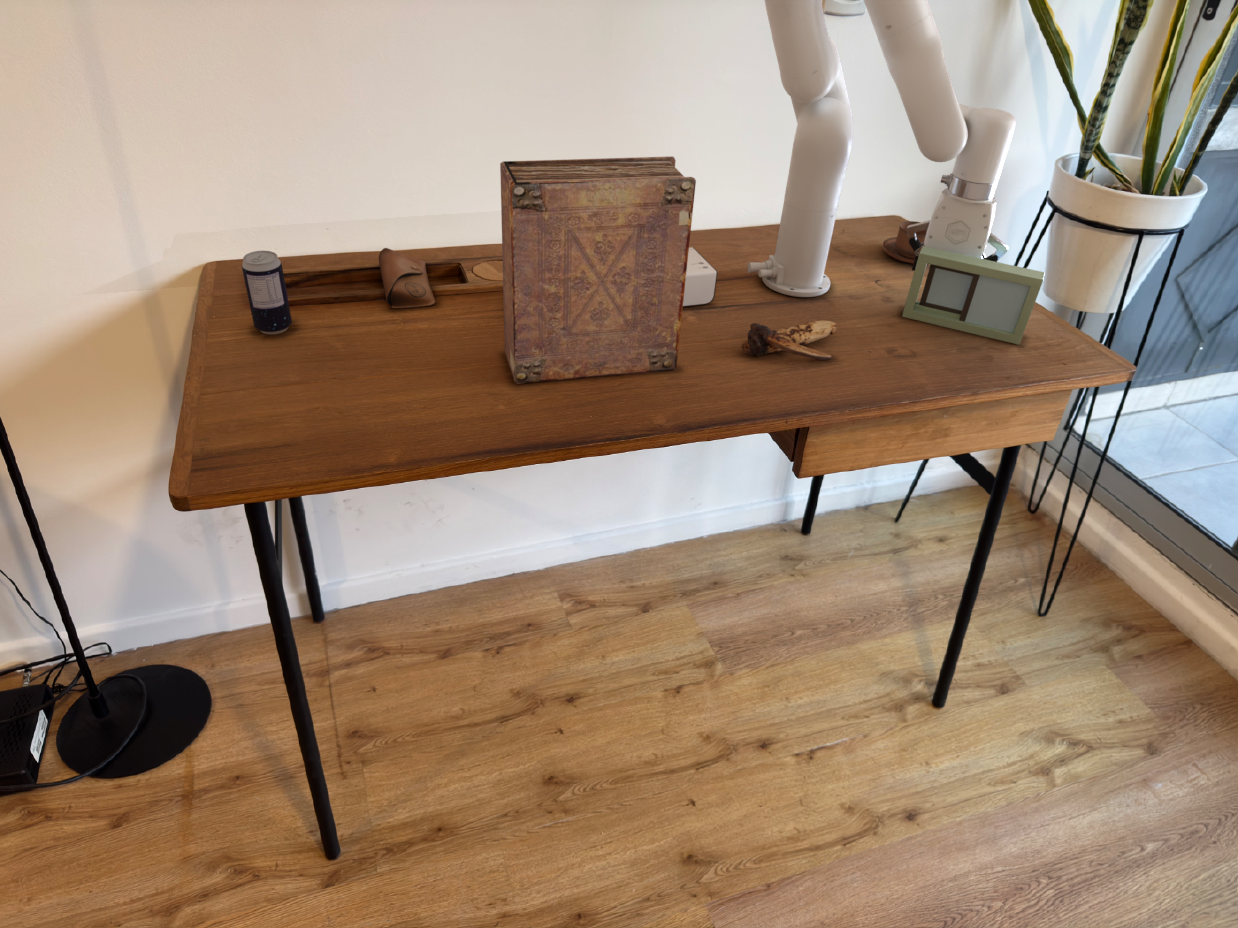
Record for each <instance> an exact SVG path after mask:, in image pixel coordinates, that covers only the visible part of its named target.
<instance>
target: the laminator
mask: <svg viewBox="0 0 1238 928" xmlns="http://www.w3.org/2000/svg"><path fill="white" fill-rule="evenodd" d="M718 273H719V272H718V270H717V269H716V268H715V267H714V266H713V265H712V264H711V263H710V262H709V261H708V260H707V259H706V258H705V257H704V256H703V255H702V254H700V252H699V251H698V250H697V249H696V248H695V247H693V246H692V247H690V246H689V252H688V261H687V271H686V280H685V290H684V300H683V308H691V307H699V306H700V307H701V306H706V305H709V304H711V303H712V302H713V301H714V299H715V296H716V288H717V281H718Z"/></svg>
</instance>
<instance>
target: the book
mask: <svg viewBox="0 0 1238 928" xmlns="http://www.w3.org/2000/svg"><path fill="white" fill-rule="evenodd" d="M676 162H677V161H676V158H675V157H674V156H673V155H672V156H639V157H638V156H637V157H608V158H605V157H604V158H602V157H601V158H573V159H572V158H570V159H540V160H539V159H538V160H508V161H507V160H505V161H501V162H500V164H499V167H500V169H499V170H500V208H501V210H500V212H501V251H502V292H503V293H502V295H503V297H502V298H503V334H504V335H503V337H504V338H503V339H504V340H503V342H504V355H505V357H506V360H507V363H508V366H509V368H510V371H511V374H512V378H513V380H514V383H515V385H519V384H531V383H543V382H556V381H565V380H578V379H590V378H598V377H599V378H600V377H612V376H624V375H635V374H636V375H637V374H649V373H659V372H661V373H662V372H670V371H672V372H673V371H676V369H677V366H678V357H679V347H680V336H681V329H682V328H681V327H682V319H683V317H682V316H683V309H684V307H683V300H684V290H685V280H686V271H687V261H688V252H689V248H690V240H691V231H692V223H693V212H694V202H695V194H696V183H697V180H696V178H695V177H693V176H684V175H683V174H682V173H681V172H680V171H679V170H678V169H677V168H676Z"/></svg>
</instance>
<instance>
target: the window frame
mask: <svg viewBox="0 0 1238 928" xmlns="http://www.w3.org/2000/svg"><path fill="white" fill-rule="evenodd" d="M927 263H928V264H927ZM931 264H932V265H937V266H941V267H946V268H951V269H955V270H960V271H964V272H969V273H973V274H974V275H973V278H972V281H971V284H970V287H969V291H968V294H967V297H966V300H965V303H964V306H963V309H962V312H961V315H960V314H956V313H951V312H947V311H943V310H939V309H934V308H930V307H926V306H922V305H919V303H920V300H919V301H918V298H919V294H920V291H921V287H922V283H923V280H924V276H925V273H926V270H927V267H928V265H931ZM1044 278H1045V271H1040V270H1036V269H1031V268H1027V267H1022V266H1017V265H1013V264H1008V263H1004V262H999V261H997V262H994V261H990V260H985V259H980V258H976V257H971V256H967V255H962V254H957V253H953V252H948V251H943V250H939V249H934V248H929V247H925V246H923V247H922V249H921V251H920V253H919V257H918V261H917V264H916V268H915V271H913V275H912V279H911V282H910V285H909V290H908V292H907V293H908V294H907V297H906V301H905V304H904V308H903V311H902V315H901V316H902V318H906V319H910V320H913V321H919V322H922V323H927V324H931V325H935V326H939V327H944V328H947V329H952V330H955V331H959V332H964V333H968V334H972V335H977V336H981V337H984V338H989V339H993V340H997V341H1001V342H1005V343H1009V344H1013V345H1018V346H1019V345H1021V341H1022V339H1023V336H1024V335H1025V330H1026V329H1027V325H1028V323H1029V320H1030V317H1031V315H1032V311H1033V309H1034V307H1035V304H1036V301H1037V300H1038V295H1039V293H1040V290H1041V288H1042V285H1043V283H1044V280H1045V279H1044Z"/></svg>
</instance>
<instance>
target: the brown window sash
mask: <svg viewBox="0 0 1238 928" xmlns="http://www.w3.org/2000/svg"><path fill="white" fill-rule="evenodd" d="M929 265H930V266H929V269H928V272H927V276H926V280H925V282H924V286H923V290H922V293H921V296H920V300H919V302H920V303H919V305H922V306H926V307H930V308H934V309H939V310H943V311H947V312H951V313H956V314H960V315H961V312H962V309H963V306H964V303H965V300H966V297H967V294H968V291H969V287H970V284H971V281H972V278H973V275H974V274H973V273H969V272H964V271H960V270H955V269H951V268H946V267H941V266H937V265H932V264H929Z"/></svg>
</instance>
